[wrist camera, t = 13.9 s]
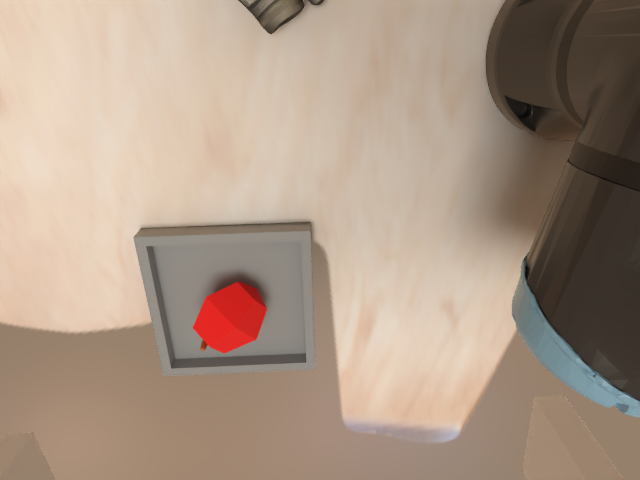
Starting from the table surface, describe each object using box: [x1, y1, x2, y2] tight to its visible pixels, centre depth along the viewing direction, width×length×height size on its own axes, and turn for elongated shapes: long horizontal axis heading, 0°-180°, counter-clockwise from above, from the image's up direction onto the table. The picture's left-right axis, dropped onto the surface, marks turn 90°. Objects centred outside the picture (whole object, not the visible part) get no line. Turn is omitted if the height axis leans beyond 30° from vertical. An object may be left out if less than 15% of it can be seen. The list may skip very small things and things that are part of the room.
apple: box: [193, 281, 267, 354], centre depth 45 cm, size 7×7×8 cm
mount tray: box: [134, 222, 316, 376], centre depth 47 cm, size 17×17×2 cm
